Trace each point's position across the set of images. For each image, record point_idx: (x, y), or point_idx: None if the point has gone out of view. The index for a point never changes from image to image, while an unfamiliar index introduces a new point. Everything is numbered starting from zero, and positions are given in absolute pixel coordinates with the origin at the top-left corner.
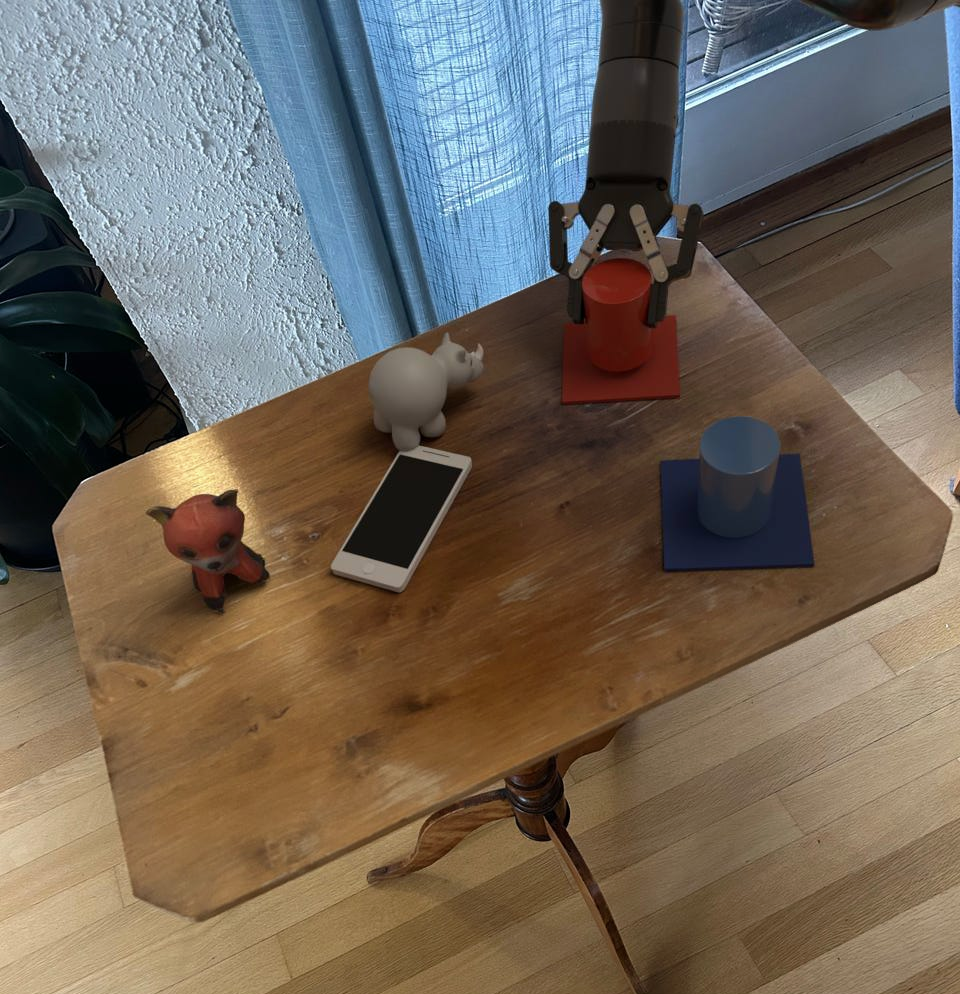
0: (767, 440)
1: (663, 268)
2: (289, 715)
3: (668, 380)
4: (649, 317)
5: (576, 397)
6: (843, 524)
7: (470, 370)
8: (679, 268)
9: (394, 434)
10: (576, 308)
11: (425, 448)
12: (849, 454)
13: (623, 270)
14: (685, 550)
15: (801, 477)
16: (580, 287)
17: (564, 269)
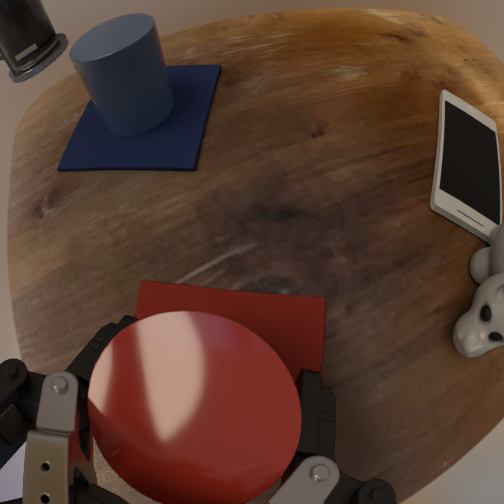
0: (83, 42)
1: (47, 395)
2: (461, 57)
3: (150, 313)
4: None
5: (302, 303)
6: (68, 108)
7: (482, 293)
8: (15, 372)
9: None
10: (312, 392)
11: (482, 229)
12: (27, 173)
13: (161, 454)
14: (197, 76)
15: (69, 142)
16: (302, 435)
17: (348, 489)
